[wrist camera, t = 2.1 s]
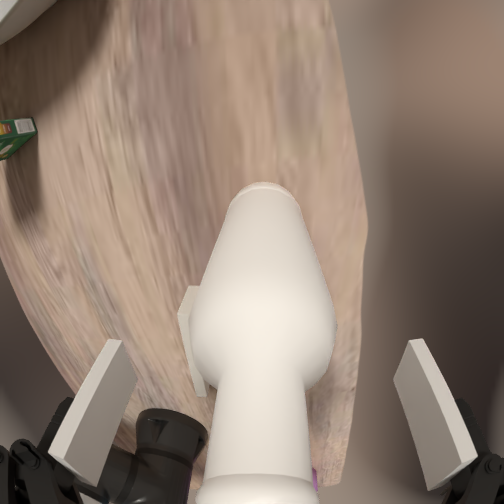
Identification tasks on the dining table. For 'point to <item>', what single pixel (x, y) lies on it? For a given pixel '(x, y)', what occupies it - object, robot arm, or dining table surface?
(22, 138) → the coffee box
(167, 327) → the dining table surface
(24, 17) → the decorative bowl
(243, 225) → the bottle
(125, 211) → the dining table surface
